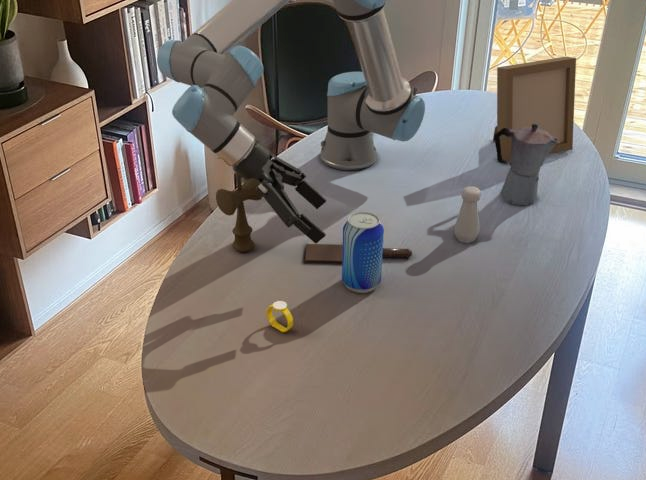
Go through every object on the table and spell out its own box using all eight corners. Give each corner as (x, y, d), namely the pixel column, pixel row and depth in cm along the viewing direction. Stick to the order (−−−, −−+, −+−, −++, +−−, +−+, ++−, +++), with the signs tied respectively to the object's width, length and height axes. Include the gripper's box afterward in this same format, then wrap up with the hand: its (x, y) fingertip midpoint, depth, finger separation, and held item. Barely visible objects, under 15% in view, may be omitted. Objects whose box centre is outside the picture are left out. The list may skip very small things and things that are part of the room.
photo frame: (571, 152, 229) (589, 65, 214) (505, 166, 222) (519, 76, 207) (540, 131, 240) (555, 46, 225) (476, 144, 233) (487, 57, 218)
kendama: (218, 251, 186) (211, 172, 174) (249, 235, 192) (245, 157, 180) (236, 261, 183) (230, 181, 171) (267, 244, 189) (264, 165, 177)
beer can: (360, 299, 172) (362, 234, 162) (333, 282, 177) (334, 218, 167) (388, 285, 177) (392, 220, 167) (362, 268, 182) (364, 205, 172)
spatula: (411, 248, 188) (411, 241, 187) (412, 265, 183) (413, 257, 182) (306, 246, 189) (306, 239, 187) (305, 262, 183) (305, 255, 182)
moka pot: (547, 210, 203) (562, 135, 191) (485, 203, 206) (495, 129, 193) (547, 191, 211) (561, 118, 199) (487, 185, 213) (497, 112, 201)
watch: (264, 325, 165) (263, 301, 161) (273, 319, 166) (272, 295, 163) (286, 337, 162) (285, 313, 158) (295, 331, 163) (295, 307, 160)
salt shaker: (463, 229, 195) (469, 180, 188) (483, 238, 192) (490, 189, 184) (448, 238, 192) (453, 188, 184) (467, 247, 189) (474, 198, 181)
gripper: (237, 137, 170) (309, 202, 179) (223, 196, 150) (306, 265, 159) (261, 113, 167) (334, 180, 176) (251, 170, 147) (334, 242, 156)
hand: (321, 221), depth 167 cm, fingers open, 13 cm apart
